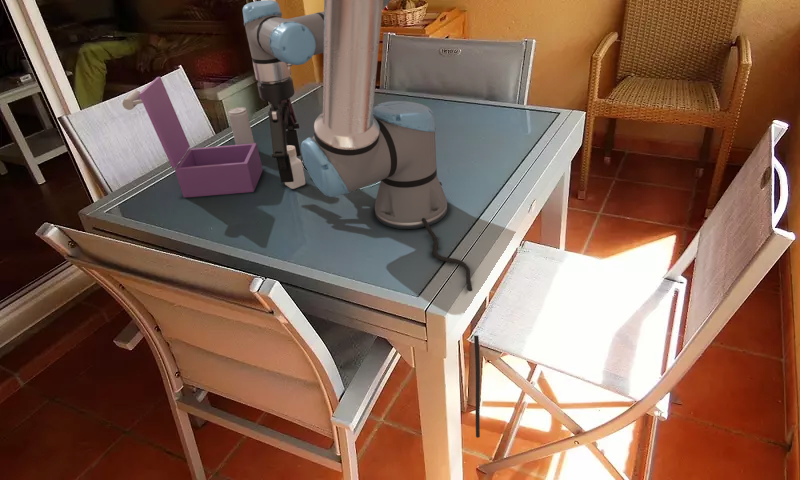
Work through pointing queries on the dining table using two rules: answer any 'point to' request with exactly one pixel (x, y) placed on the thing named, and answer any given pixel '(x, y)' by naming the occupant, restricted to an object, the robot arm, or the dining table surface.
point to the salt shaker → (295, 169)
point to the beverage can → (240, 126)
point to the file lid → (161, 119)
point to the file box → (219, 170)
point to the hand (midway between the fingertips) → (291, 168)
